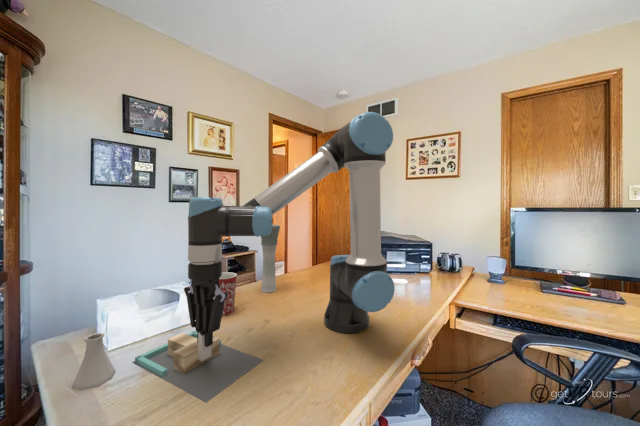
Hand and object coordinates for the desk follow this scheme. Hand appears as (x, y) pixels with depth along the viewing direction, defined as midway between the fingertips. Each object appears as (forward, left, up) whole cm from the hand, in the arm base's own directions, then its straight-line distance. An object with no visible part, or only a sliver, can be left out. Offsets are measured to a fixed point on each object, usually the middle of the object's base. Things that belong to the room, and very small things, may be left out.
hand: (204, 357), depth 66 cm
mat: (+2, 0, -2) cm, 3 cm away
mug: (+24, -27, -2) cm, 36 cm away
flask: (+16, +16, -2) cm, 23 cm away
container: (+25, -54, -2) cm, 60 cm away
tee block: (+6, 0, -2) cm, 6 cm away
